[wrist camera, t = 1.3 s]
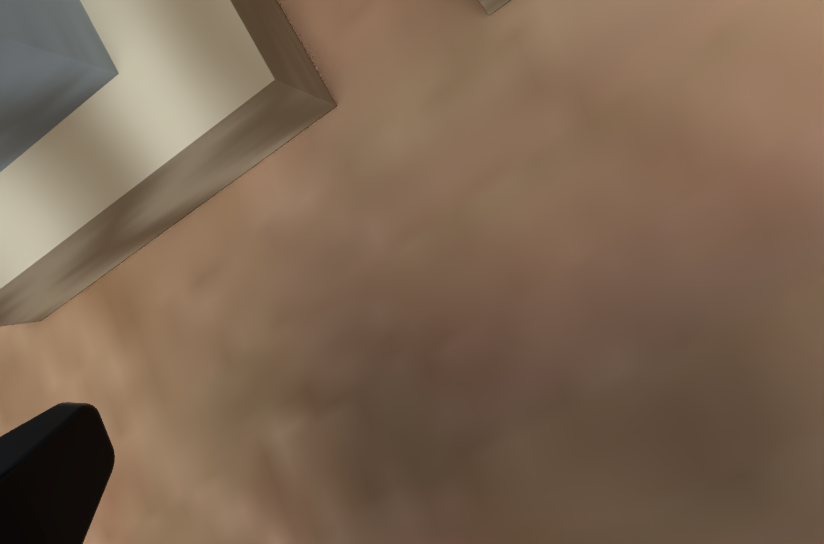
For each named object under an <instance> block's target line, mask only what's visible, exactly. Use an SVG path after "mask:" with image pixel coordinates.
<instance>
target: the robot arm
mask: <svg viewBox="0 0 824 544" xmlns="http://www.w3.org/2000/svg"><path fill="white" fill-rule="evenodd" d="M114 458H115V455H114V449H113V446H112V444H111V441H110V439H109V436H108V434H107V431H106V429H105V426H104V424H103V421H102V419H101V416H100V414H99V412H98V410H97V409H96V408H95V407H94V406H93V405H90V404H87V403H69V402H66V403H60V404H58V405H56V406H54V407H52V408H50V409H48V410H47V411H45V412H43V413H41V414H40V415H38V416H36V417H34V418H33V419H31V420H29V421H27V422H26V423H24V424H22V425H20V426H19V427H17V428H15V429H13V430H11V431H10V432H8V433H6V434H4V435H3V436H1V437H0V544H83V542H84V539H85V537H86V534H87V532H88V529H89V527H90V524H91V522H92V519H93V517H94V515H95V512H96V510H97V507H98V505H99V502H100V500H101V497H102V495H103V492H104V490H105V487H106V485H107V483H108V480H109V478H110V475H111V473H112V470H113V466H114Z"/></svg>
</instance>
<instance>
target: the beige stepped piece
mask: <svg viewBox="0 0 824 544" xmlns="http://www.w3.org/2000/svg"><path fill="white" fill-rule="evenodd" d="M80 1H81V3H82V5H83V7H84V9H85V11H86V12H87V14H88V16H89V18H90V20H91V22H92V24H93V26H94V28H95V29H96V31H97V33H98V35H99V37H100V39H101V41H102V43H103V44H104V46H105V48H106V50H107V52H108V54H109V56H110V58H111V59H112V61H113V63H114V65H115V67H116V69H117V71H118V73H119V74H118V75H117V76H115V77H114V78H113V79H112V80H111V81H109V82H108V83H107V84H106V85H105V86H103V87H102V88H101V89H100V90H99V91H97V92H96V93H95V94H94V95H93V96H91V97H90V98H89V99H88V100H87V101H85V102H84V103H83V104H82V105H81V106H79V107H78V108H77V109H76V110H75V111H73V112H72V113H71V114H70V115H69V116H67V117H66V118H65V119H64V120H63V121H61V122H60V123H59V124H58V125H57V126H55V127H54V128H53V129H52V130H51V131H49V132H48V133H47V134H46V135H45V136H43V137H42V138H41V139H40V140H39V141H37V142H36V143H35V144H34V145H33V146H31V147H30V148H29V149H28V150H27V151H25V152H24V153H23V154H22V155H21V156H19V157H18V158H17V159H16V160H15V161H13V162H12V163H11V164H10V165H9V166H7V167H6V168H5V169H4V170H3V171H1V172H0V326H7V325H15V324H22V323H30V322H38V321H41V320H43V319H44V318H45V317H47V316H48V315H49V314H51V313H52V312H54V311H55V310H56V309H58V308H59V307H60V306H62V305H63V304H65V303H66V302H67V301H69V300H70V299H71V298H73V297H74V296H76V295H77V294H78V293H80V292H81V291H82V290H84V289H85V288H87V287H88V286H89V285H91V284H92V283H93V282H95V281H96V280H98V279H99V278H100V277H102V276H103V275H104V274H106V273H107V272H109V271H110V270H111V269H113V268H114V267H116V266H117V265H118V264H120V263H121V262H122V261H124V260H125V259H127V258H128V257H129V256H131V255H132V254H133V253H135V252H136V251H138V250H139V249H140V248H142V247H143V246H144V245H146V244H147V243H149V242H150V241H151V240H153V239H154V238H155V237H157V236H158V235H160V234H161V233H162V232H164V231H165V230H166V229H168V228H169V227H171V226H172V225H173V224H175V223H176V222H177V221H179V220H180V219H182V218H183V217H184V216H186V215H187V214H189V213H190V212H191V211H193V210H194V209H195V208H197V207H198V206H200V205H201V204H202V203H204V202H205V201H206V200H208V199H209V198H211V197H212V196H213V195H215V194H216V193H217V192H219V191H220V190H222V189H223V188H224V187H226V186H227V185H228V184H230V183H231V182H233V181H234V180H235V179H237V178H238V177H239V176H241V175H242V174H244V173H245V172H246V171H248V170H249V169H251V168H252V167H253V166H255V165H256V164H257V163H259V162H260V161H262V160H263V159H264V158H266V157H267V156H268V155H270V154H271V153H273V152H274V151H275V150H277V149H278V148H279V147H281V146H282V145H284V144H285V143H286V142H288V141H289V140H290V139H292V138H293V137H295V136H296V135H297V134H299V133H300V132H301V131H303V130H304V129H306V128H307V127H308V126H310V125H311V124H312V123H314V122H315V121H317V120H318V119H319V118H321V117H322V116H324V115H325V114H326V113H328V112H329V111H330V110H332V109H333V108H335V107H336V106H337V105H336V103H335V102H334V100H333V98H332V97H331V95H330V93H329V91H328V90H327V88H326V86H325V84H324V83H323V81H322V79H321V77H320V76H319V74H318V72H317V70H316V69H315V67H314V65H313V63H312V62H311V60H310V58H309V56H308V55H307V53H306V51H305V49H304V48H303V46H302V44H301V42H300V41H299V39H298V37H297V35H296V34H295V32H294V30H293V28H292V27H291V25H290V23H289V21H288V20H287V18H286V16H285V14H284V13H283V11H282V9H281V7H280V6H279V4H278V2H277V0H80ZM478 1H479V2H480V3H481V5H482V6H483V7H484V9H485V10H486V12H487V13H488V14H489V15H490V14H492V13H493V12H495V11H496V10H497V9H499V8H500V7H502V6H503V5H504V4H506V3H507V2H508V1H510V0H478Z"/></svg>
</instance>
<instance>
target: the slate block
mask: <svg viewBox="0 0 824 544" xmlns="http://www.w3.org/2000/svg"><path fill="white" fill-rule="evenodd" d="M118 74H119V73H118V71H117V69H116V67H115V65H114V63H113V61H112V59H111V58H110V56H109V54H108V52H107V50H106V48H105V46H104V44H103V43H102V41H101V39H100V37H99V35H98V33H97V31H96V29H95V28H94V26H93V24H92V22H91V20H90V18H89V16H88V14H87V12H86V11H85V9H84V7H83V5H82V3H81V1H80V0H0V172H1V171H3V170H4V169H5V168H6V167H7V166H9V165H10V164H11V163H12V162H13V161H15V160H16V159H17V158H18V157H19V156H21V155H22V154H23V153H24V152H25V151H27V150H28V149H29V148H30V147H31V146H33V145H34V144H35V143H36V142H37V141H39V140H40V139H41V138H42V137H43V136H45V135H46V134H47V133H48V132H49V131H51V130H52V129H53V128H54V127H55V126H57V125H58V124H59V123H60V122H61V121H63V120H64V119H65V118H66V117H67V116H69V115H70V114H71V113H72V112H73V111H75V110H76V109H77V108H78V107H79V106H81V105H82V104H83V103H84V102H85V101H87V100H88V99H89V98H90V97H91V96H93V95H94V94H95V93H96V92H97V91H99V90H100V89H101V88H102V87H103V86H105V85H106V84H107V83H108V82H109V81H111V80H112V79H113V78H114V77H115V76H117V75H118Z"/></svg>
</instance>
